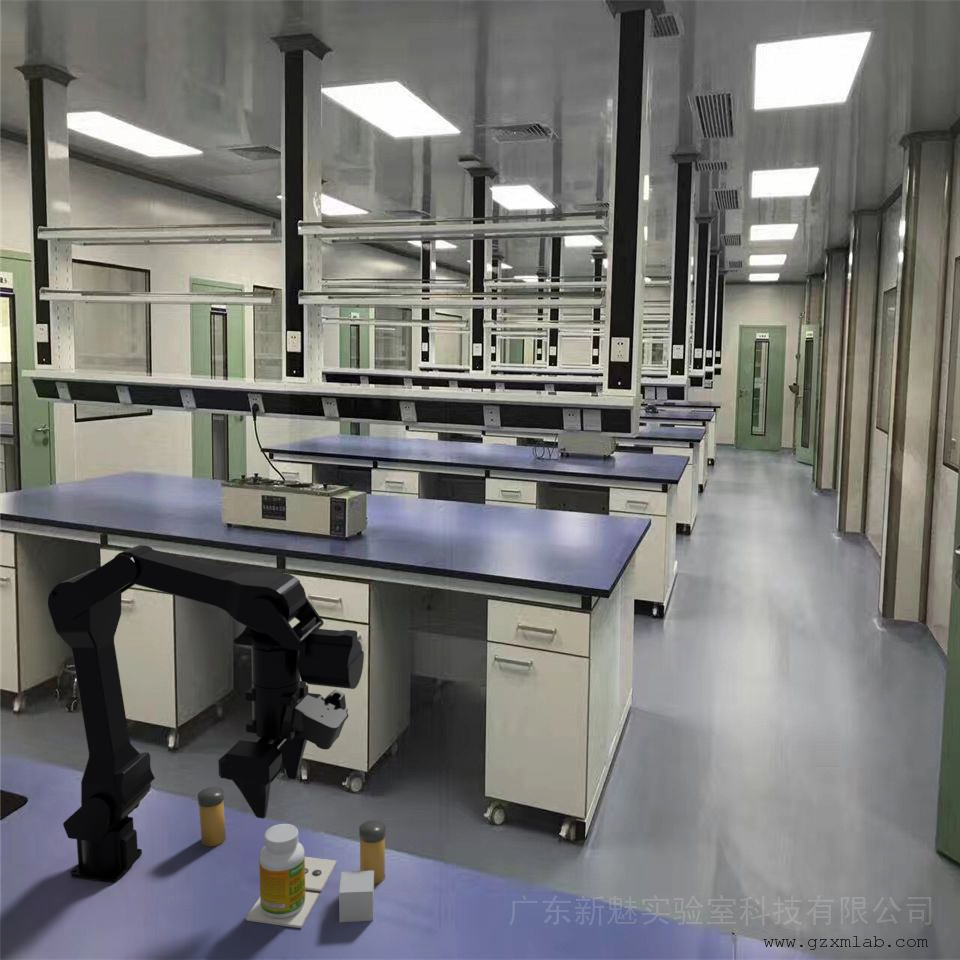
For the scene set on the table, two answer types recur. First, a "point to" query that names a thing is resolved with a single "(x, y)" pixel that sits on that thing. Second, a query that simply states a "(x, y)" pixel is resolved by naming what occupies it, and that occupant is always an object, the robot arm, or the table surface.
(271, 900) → the supplement bottle
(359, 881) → the grey block
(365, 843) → the amber vial
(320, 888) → the pad three
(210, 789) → the amber vial
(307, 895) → the pad two
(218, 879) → the table surface
